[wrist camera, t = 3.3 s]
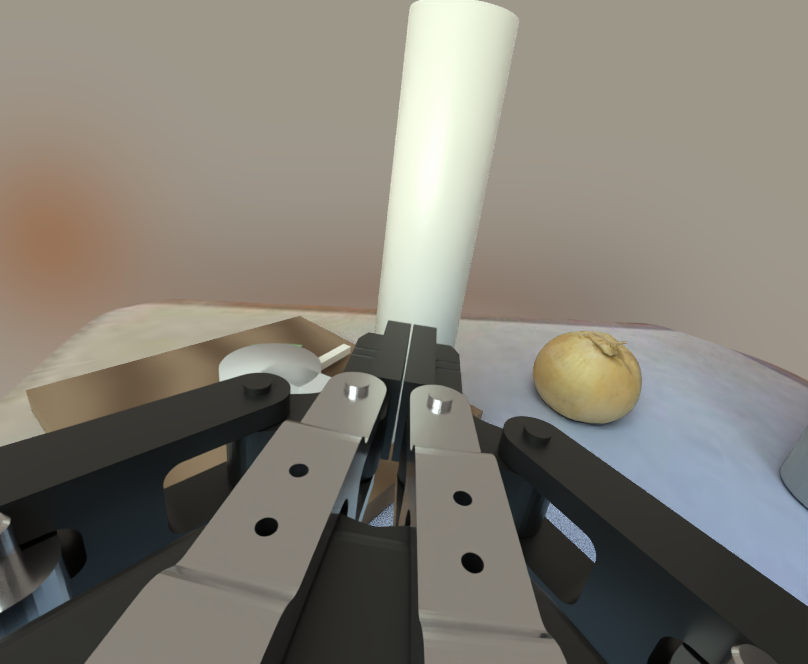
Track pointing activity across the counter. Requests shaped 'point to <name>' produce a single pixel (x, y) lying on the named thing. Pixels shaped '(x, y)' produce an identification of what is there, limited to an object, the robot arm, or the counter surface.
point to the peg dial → (425, 181)
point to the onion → (588, 377)
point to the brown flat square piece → (186, 373)
